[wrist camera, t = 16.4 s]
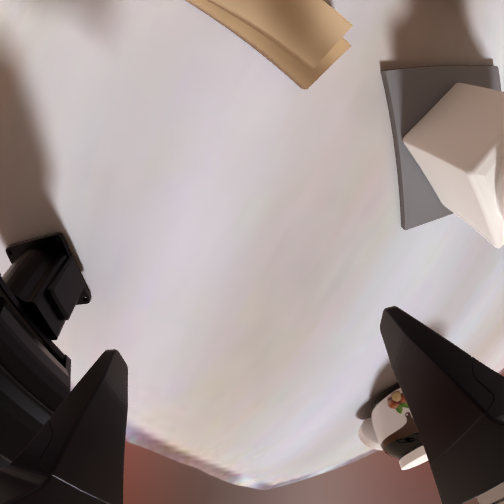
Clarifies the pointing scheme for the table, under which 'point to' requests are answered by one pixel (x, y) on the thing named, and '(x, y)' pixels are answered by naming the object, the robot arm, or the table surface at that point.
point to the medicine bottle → (465, 156)
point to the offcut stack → (286, 32)
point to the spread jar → (393, 429)
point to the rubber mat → (410, 113)
